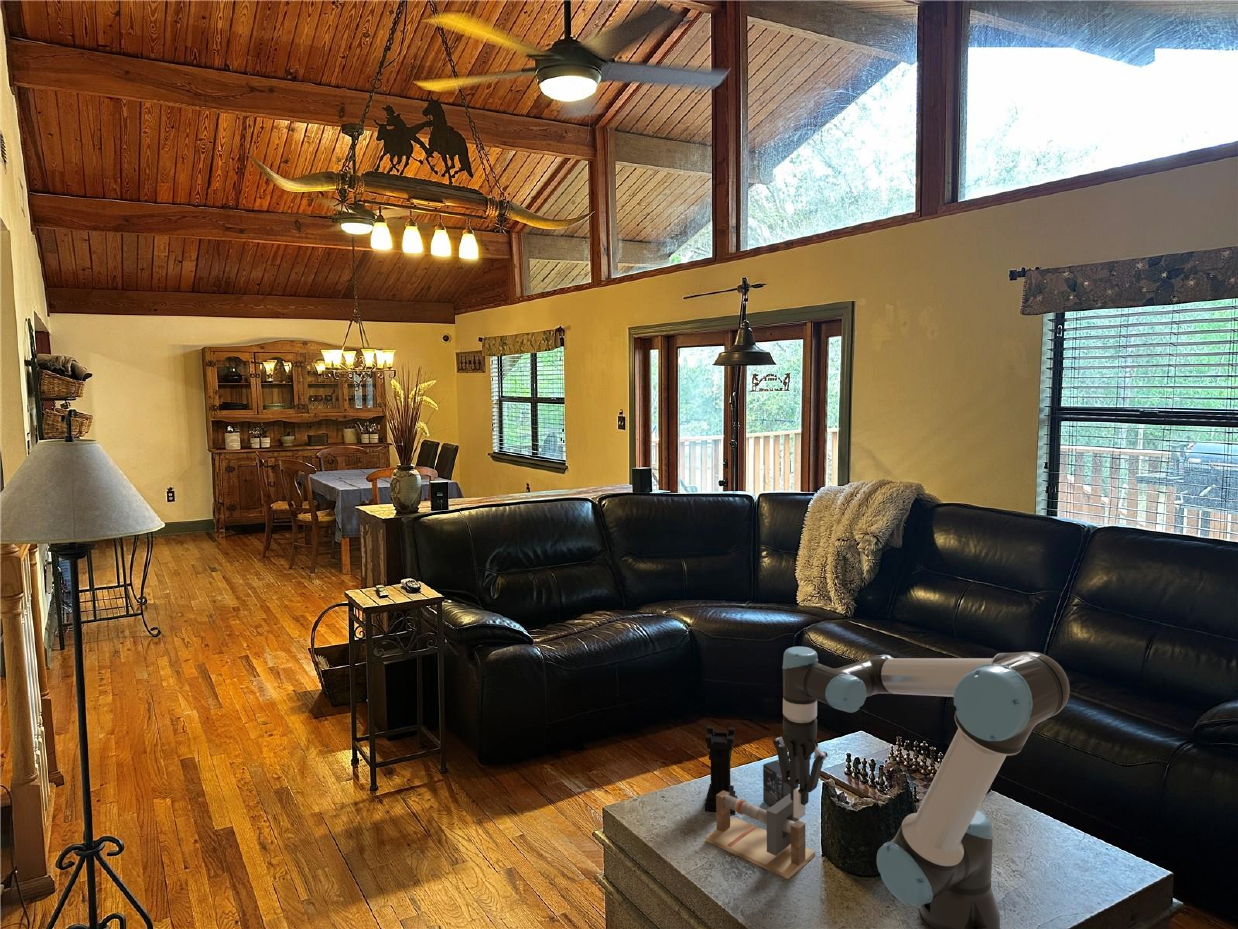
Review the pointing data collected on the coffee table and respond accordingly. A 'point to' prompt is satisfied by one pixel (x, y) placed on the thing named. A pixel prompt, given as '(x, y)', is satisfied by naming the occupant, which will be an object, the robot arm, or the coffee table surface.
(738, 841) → the pipe rig
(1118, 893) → the coffee table surface
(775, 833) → the ring
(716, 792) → the chess piece
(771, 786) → the box
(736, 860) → the coffee table surface
